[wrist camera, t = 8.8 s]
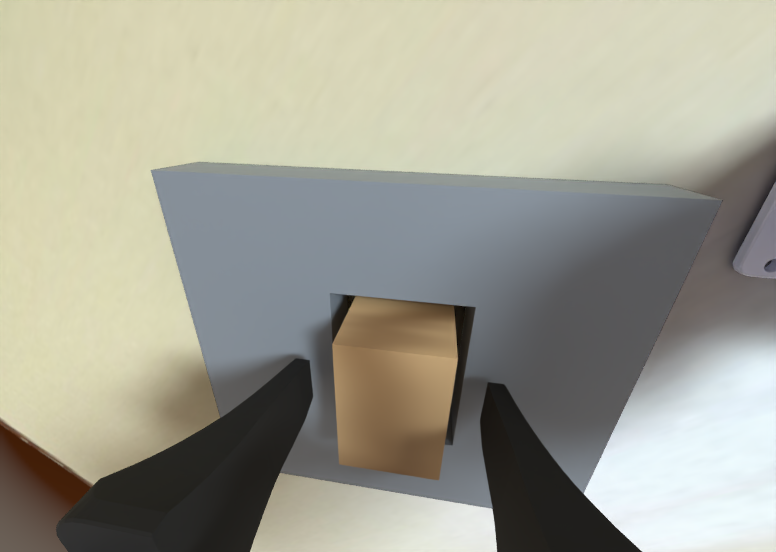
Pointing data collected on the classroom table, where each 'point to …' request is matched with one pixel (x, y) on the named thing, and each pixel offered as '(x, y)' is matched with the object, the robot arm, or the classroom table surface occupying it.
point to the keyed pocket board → (435, 293)
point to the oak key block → (394, 385)
